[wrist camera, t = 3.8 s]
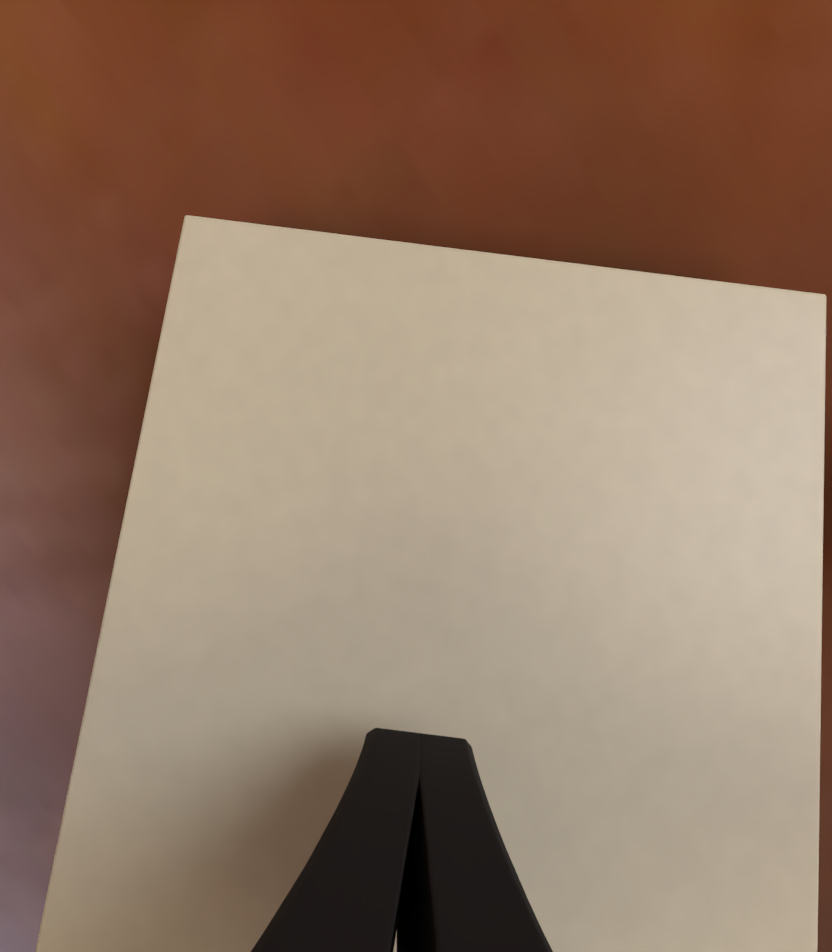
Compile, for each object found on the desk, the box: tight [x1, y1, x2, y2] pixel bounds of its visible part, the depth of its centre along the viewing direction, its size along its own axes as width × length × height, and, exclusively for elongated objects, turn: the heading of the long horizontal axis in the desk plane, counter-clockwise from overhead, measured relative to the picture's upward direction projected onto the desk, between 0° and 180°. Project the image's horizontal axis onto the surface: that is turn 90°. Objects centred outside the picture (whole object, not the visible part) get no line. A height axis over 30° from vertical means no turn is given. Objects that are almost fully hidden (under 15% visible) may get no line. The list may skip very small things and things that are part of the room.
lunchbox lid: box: [35, 215, 826, 952], centre depth 10 cm, size 14×11×1 cm
